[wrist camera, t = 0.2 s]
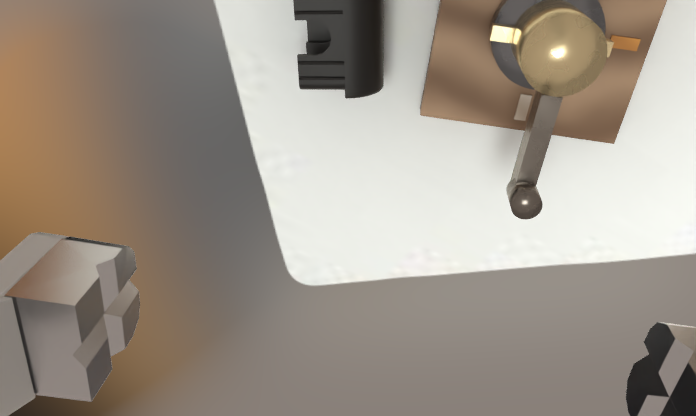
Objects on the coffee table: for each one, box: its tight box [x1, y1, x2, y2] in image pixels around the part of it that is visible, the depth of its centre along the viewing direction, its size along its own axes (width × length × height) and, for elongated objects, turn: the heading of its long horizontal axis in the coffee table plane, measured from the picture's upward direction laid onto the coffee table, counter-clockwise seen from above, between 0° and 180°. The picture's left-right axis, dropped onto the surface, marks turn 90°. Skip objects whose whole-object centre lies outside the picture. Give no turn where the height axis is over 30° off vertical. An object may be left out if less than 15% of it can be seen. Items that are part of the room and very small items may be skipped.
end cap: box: [294, 0, 383, 98], centre depth 51 cm, size 10×7×7 cm
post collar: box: [490, 0, 606, 90], centre depth 49 cm, size 9×9×2 cm
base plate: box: [420, 0, 667, 144], centre depth 51 cm, size 18×18×2 cm
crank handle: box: [489, 0, 614, 219], centre depth 47 cm, size 16×10×8 cm, turn 173°
